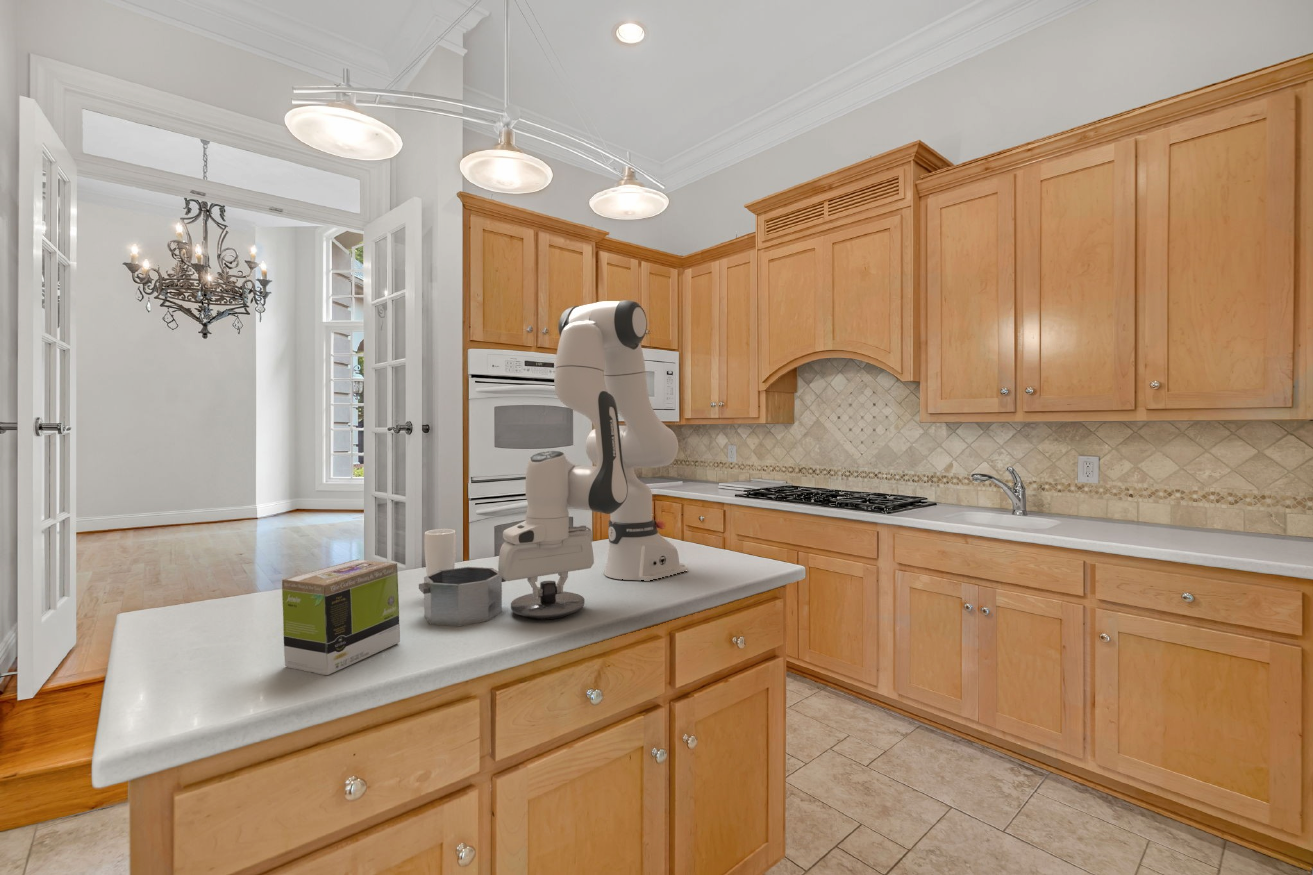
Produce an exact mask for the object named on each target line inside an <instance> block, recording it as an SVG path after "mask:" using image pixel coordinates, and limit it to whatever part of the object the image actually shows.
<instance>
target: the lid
mask: <svg viewBox="0 0 1313 875" xmlns="http://www.w3.org/2000/svg"><path fill="white" fill-rule="evenodd" d="M556 584H557V582H556V581H555V580H543V581H540V583H539V585H540V586H539V587H540V588H542V589H543V592H542V594H543V596H542V597H539V598H534V597H533V592H531V593H528V594H524V595H520V596H518V597H516V598H514V599H513V600H512V601H511V603H510V609H511V611H512V613H514V614H516V615H518V616H523V617H526V618H528V619H533V620H554V619H555V620H556V619H559V618H563V617H566V616H569V615H571V614H573V613H576V612H578V611H580V610H582V609H583V608H584V607H585V605H586V604H585V602H586V600H585V598H584V596H583V595H580V594H578V593H576V592H570V591H563V593H562V594H556Z"/></svg>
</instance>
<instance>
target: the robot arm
mask: <svg viewBox="0 0 1313 875" xmlns="http://www.w3.org/2000/svg"><path fill="white" fill-rule="evenodd" d="M557 327H558V334H559V337H560V338H559V340H558V345H557V349H556V350H557V351H556V355H555V356H556V357H555V365H554V366H555V367H554V378H553V380H554V382H553V385H554V392H555V394H556V396H557V397H558V399H559V400H560V402H562V404H564V405H565V406H566V407H567V408H568V409H571V410H572V411H574V412H576V413H578V414H581V415H583V416H585V417H586V418H587V419H589V420H590V422H591V423H592V425H593V427H594V429H592V430H591V431H590V432H589V434H588V435H587V437H586V440H585V453H586V455H587V457H588V459H589V460H590V462H591V463H593V464H594V465H595V466H594V465H581V464H580V465H579V464H576V463H573V462H571V461H570V460H568V459H567V458H566V457H567V456H566V454H565V453H564V452H563V451H559V450H549V451H541V452H537V453H535V454H533V455H532V456H530V457H529V459H528V461H527V468H526V474H525V498H526V501H527V510H526V511H525V512H526V513H525V520H524V521H522V522H520V523H518V524H517V523H516V525H513V526H511V527H508V528H506V529H504V530H503V532H502V537H503V539H504V542H503V543H502V545H501V546H500V549H499V554H498V564H497V565H498V566H497V567H498V568H497V571H498V573H499V575H500V577H501V578H503V579H504V580H506V582H512V581H517V580H519V581H520V580H524V579H527V582H528V584H529V586H530V587H531V588H532V593H533V597H534V598H539V597H542V596H543V594H542V592H543V589H542V588H540V586H538V585H537V582H538V577H542V576H543V577H545V576H550V575H556V574H557V575H558V580H557V582H556V594H562V593H563V592H564V585H565V584H566V582H567V579H568V578H569V573H570V572H575V571H582V570H589V569H592V567H593V565H594V564H595V557H594V548H593V543H592V542H593V531H592V529H591V528H590V527H588V526H587V525H578V526H570V519H569V518H570V515H569V514H570V513H569V510H568V509H574V510H582V511H591V512H596V513H600V514H606V515H609V516H610V517H609V520H608V529H607V531H608V532H607V533H608V534H607V535H608V542H609V543H608V553H607V559H606V560H607V561H606V564H605V569H604V572H603V574H604V576H606V577H608V578H611V579H616V580H622V579H623V581H624V580H625V581H641V580H644V581H643V582H651V581H650V580H653V579H657V580H659V579H658V578H661V579H663V578H662V577H664V578H666V577H665V576H668V577H671V576H670V575H672V574H676V575H678V574H677V573H679V572H683V571H686V570H688V571H689V569H688V566H687V565H686V564H683V563H681V562H680V556H679V552H678V549H677V548H676V546H675V545H674V544H672V543H671V542H670V541H669V540H668V539H666V538H665V537H664V536H662V535H661V534H660V533H659V531H658V529H660V530H664V529H665V528H666V523H665V521H663V520H662V521H661V520H654V519H653V493H652V490H651V488H650V486H648V485H647V484H646V483H644V482H642V481H641V480H639V478H638V477H637V475H636V473H635V469H634V468H639V469H640V468H642V469H643V468H644V469H645V468H646V469H656V468H660V467H667V466H669V465H672V464H673V462H674V461H675V460H676V458H677V456H678V453H679V442H678V441H679V440H678V438H677V435H676V433H674V431H673V430H672V429H671V428H669V427H668V426H666V424H664V422H662V421H661V420H660V418H659V417H658V416H657V414H656V412H655V410H654V408H653V406H652V403H651V400H650V396H649V391H648V383H647V382H648V381H647V372H646V364H645V357H644V353H643V349H642V348H643V347H642V344H641V343H642V341H643V339H644V338H645V335H646V334H647V330H648V329H647V328H648V320H647V315H646V312H645V310H644V309H643V307H642V306H641V304H640V303H639V302H637V301H633V300H630V299H629V300H627V299H622V300H619V301H618V300H610V301H609V300H607V301H606V300H604V301H603V300H602V301H597V302H593V303H589V304H584V305H575V306H571V307H569V308H567V309H565V310H564V311H563V312H562V313H561V315H560V317H559V319H558V324H557ZM619 416H620V417H621V419H622V420H623V421H624V424H625V425H620V421H619ZM672 576H673V575H672ZM653 581H654V580H653Z"/></svg>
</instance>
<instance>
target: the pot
mask: <svg viewBox="0 0 1313 875" xmlns="http://www.w3.org/2000/svg"><path fill="white" fill-rule="evenodd" d="M506 582H507V581H506V580H504V579H503V578H501V577H500V575H499V573H498V569H495V568H493V567H482V566H481V567H478V566H464V567H456V568H455V567H454V569H447V570H440V571H438V572H435V573H433V574H431V575H428V576H427V575H426V576H424V577H423V582H421V583H418V589H419V591H420V592H421V594H423V602H424V603H423V605H424V607H423V610H424V613H423V615H424V617H425V619H426V620H427V621H428V623H429V624H430V625H433V626H434V625H435V626H436V625H437V626H438V625H439V626H447V627H448V626H451V627H462V626H467V625H474V624H478V623H479V624H480V623H483V622H489V621H490V620H492V619H493V618H495V617H496V616H498V615H499V614H501V613H502V612H503V600H502V598H503V597H502V596H503V588H502V586H503V585H502V584H503V583H506Z"/></svg>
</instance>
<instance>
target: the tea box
mask: <svg viewBox="0 0 1313 875" xmlns="http://www.w3.org/2000/svg"><path fill="white" fill-rule="evenodd" d="M398 572H399V571H398V562H397V563H396V562H387V561H373V560H366V559H365V560H363V559H353V560H349V561H347V562H342V563H339V564H338V563H337V564H334V565H332V566H327V567H324V568H320V569H319V568H318V569H316V570H313V571H309V572H305V573H301V574H298V575H294V576H291V577H287V578H283V579H282V580H281V594H282V595H281V597H282V617H283V618H282V620H283V621H282V622H283V623H282V624H283V626H282V628H283V651H284V652H283V654H284V666H285V667H286V668H288V667H290V669H293V670H297V669H298V671H302V670H304V671H303V672H308V673H311V672H314V673H313V674H317V675H323V676H329V675H331V674H333V673H335V672H338V671H341V670H342V669H345V668H346V667H349V666H351V665H353V664H356V663H358V662H360V661H362V660H365V659H366V658H368V657H371V656H373V655H375V654H378V653H379V652H382V651H384V650H386V649H389V648H390V647H392V646H395V645H397V644H400V642H401V633H400V632H401V631H400V630H401V629H400V626H401V625H400V603H399V602H400V600H399V599H400V598H399V578H398V576H399V575H398Z"/></svg>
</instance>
